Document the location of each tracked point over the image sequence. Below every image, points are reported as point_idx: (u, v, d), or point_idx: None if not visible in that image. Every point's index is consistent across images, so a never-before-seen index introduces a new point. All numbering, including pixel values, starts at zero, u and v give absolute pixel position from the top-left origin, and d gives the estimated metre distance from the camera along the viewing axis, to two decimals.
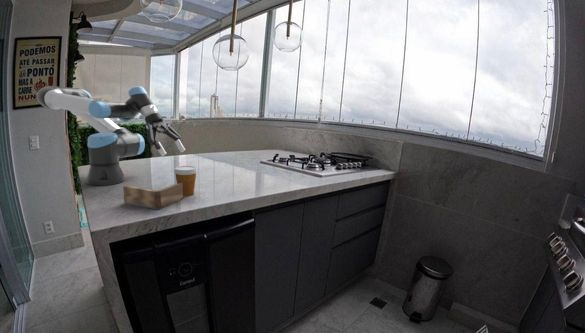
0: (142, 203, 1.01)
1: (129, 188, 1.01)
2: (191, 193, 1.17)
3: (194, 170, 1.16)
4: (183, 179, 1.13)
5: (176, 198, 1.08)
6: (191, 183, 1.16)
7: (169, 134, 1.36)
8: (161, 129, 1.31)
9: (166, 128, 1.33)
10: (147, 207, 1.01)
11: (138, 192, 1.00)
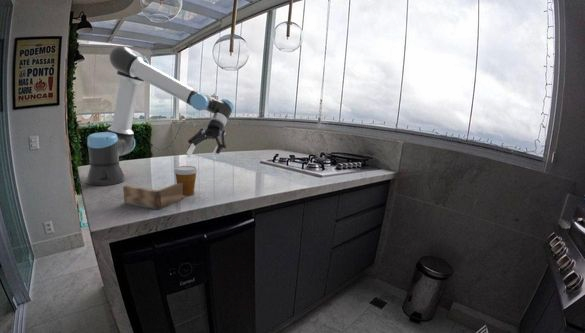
0: (142, 203, 1.01)
1: (129, 188, 1.01)
2: (191, 193, 1.17)
3: (194, 170, 1.16)
4: (183, 179, 1.13)
5: (176, 198, 1.08)
6: (191, 183, 1.16)
7: (201, 139, 1.32)
8: None
9: None
10: (147, 207, 1.01)
11: (138, 192, 1.00)
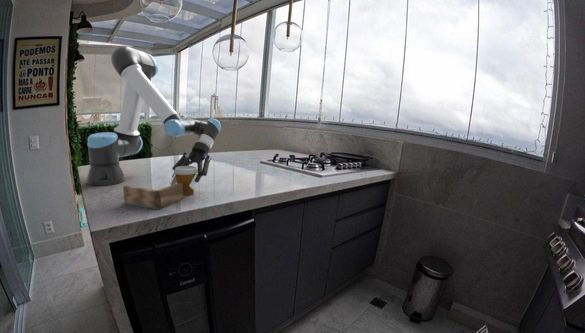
0: (142, 203, 1.01)
1: (129, 188, 1.01)
2: (191, 193, 1.17)
3: (194, 170, 1.16)
4: (183, 179, 1.13)
5: (176, 198, 1.08)
6: None
7: (186, 164, 1.22)
8: None
9: None
10: (147, 207, 1.01)
11: (138, 192, 1.00)
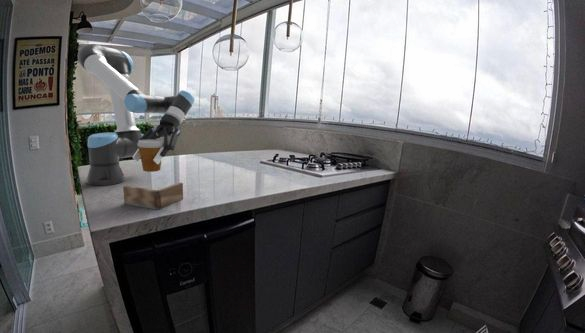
0: (142, 203, 1.01)
1: (129, 188, 1.01)
2: (157, 169, 1.07)
3: (159, 143, 1.05)
4: (147, 152, 1.03)
5: (176, 198, 1.08)
6: None
7: (152, 138, 1.11)
8: None
9: None
10: (147, 207, 1.01)
11: (138, 192, 1.00)
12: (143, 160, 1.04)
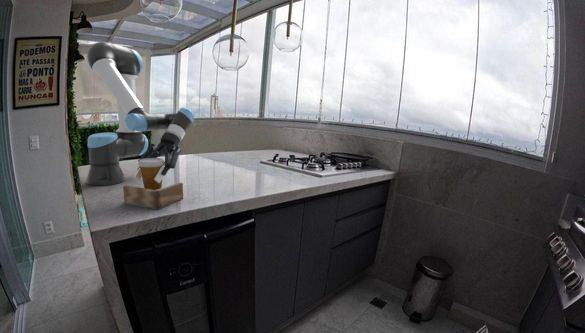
0: (142, 203, 1.01)
1: (129, 188, 1.01)
2: (158, 187, 1.08)
3: (160, 162, 1.06)
4: (148, 172, 1.04)
5: (176, 198, 1.08)
6: None
7: (153, 157, 1.12)
8: None
9: None
10: (147, 207, 1.01)
11: (138, 192, 1.00)
12: (144, 179, 1.05)
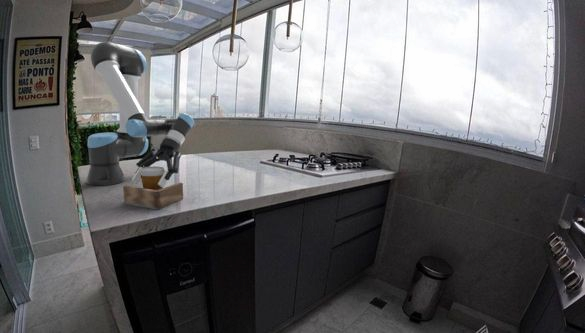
0: (142, 203, 1.01)
1: (129, 188, 1.01)
2: None
3: (161, 171, 1.07)
4: (149, 180, 1.05)
5: (176, 198, 1.08)
6: (157, 185, 1.07)
7: (152, 161, 1.13)
8: None
9: None
10: (147, 207, 1.01)
11: (138, 192, 1.00)
12: (145, 188, 1.06)
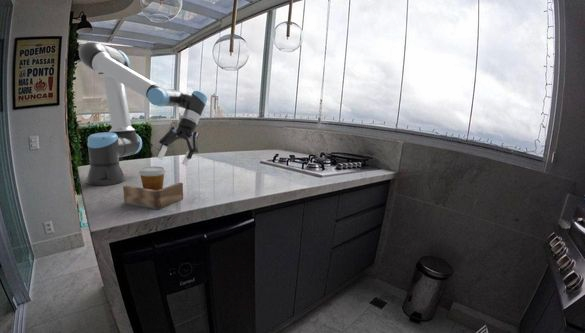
0: (142, 203, 1.01)
1: (129, 188, 1.01)
2: None
3: (161, 171, 1.07)
4: (149, 181, 1.05)
5: (176, 198, 1.08)
6: (157, 185, 1.07)
7: (173, 140, 1.26)
8: None
9: None
10: (147, 207, 1.01)
11: (138, 192, 1.00)
12: (145, 188, 1.06)
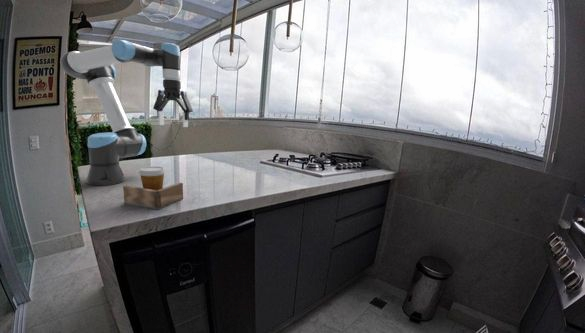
0: (142, 203, 1.01)
1: (129, 188, 1.01)
2: None
3: (161, 171, 1.07)
4: (149, 181, 1.05)
5: (176, 198, 1.08)
6: (157, 185, 1.07)
7: (165, 103, 1.26)
8: None
9: None
10: (147, 207, 1.01)
11: (138, 192, 1.00)
12: (145, 188, 1.06)
